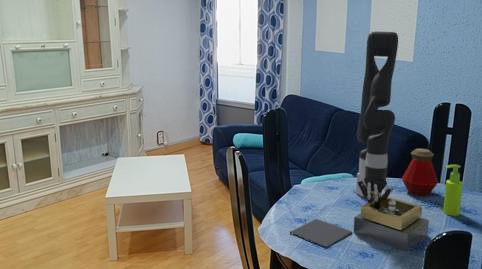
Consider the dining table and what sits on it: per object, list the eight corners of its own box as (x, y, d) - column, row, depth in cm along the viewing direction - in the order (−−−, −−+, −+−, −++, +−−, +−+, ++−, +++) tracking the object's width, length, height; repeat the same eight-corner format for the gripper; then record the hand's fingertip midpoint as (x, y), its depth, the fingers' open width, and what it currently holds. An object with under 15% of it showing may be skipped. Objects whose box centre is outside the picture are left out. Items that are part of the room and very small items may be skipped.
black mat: (289, 233, 152) (289, 231, 152) (316, 220, 163) (316, 218, 163) (326, 248, 141) (326, 246, 141) (352, 233, 151) (352, 231, 151)
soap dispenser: (437, 210, 170) (442, 163, 166) (454, 209, 170) (458, 162, 166) (446, 216, 164) (450, 167, 160) (462, 215, 165) (467, 167, 160)
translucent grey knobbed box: (353, 232, 152) (355, 198, 149) (376, 219, 163) (377, 187, 160) (406, 251, 138) (409, 214, 135) (427, 235, 149) (430, 201, 146)
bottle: (394, 191, 192) (397, 149, 188) (411, 185, 200) (414, 144, 196) (426, 201, 180) (430, 156, 176) (443, 194, 188) (447, 151, 184)
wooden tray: (360, 216, 150) (361, 206, 149) (381, 205, 160) (382, 195, 159) (401, 230, 139) (402, 219, 138) (421, 216, 149) (422, 206, 148)
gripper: (353, 162, 152) (351, 207, 156) (389, 170, 143) (386, 217, 146) (364, 158, 157) (362, 201, 161) (399, 166, 148) (396, 211, 151)
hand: (373, 209), depth 154 cm, fingers closed on wooden tray
